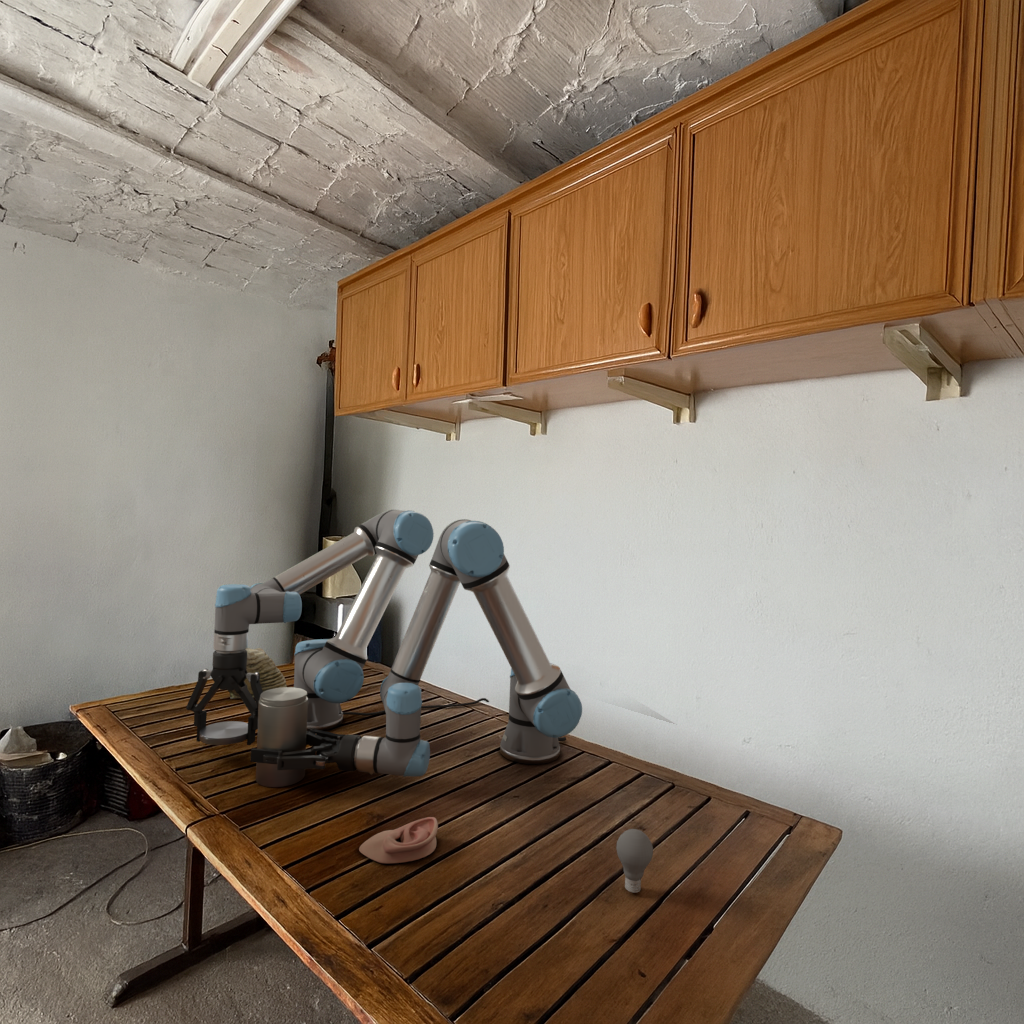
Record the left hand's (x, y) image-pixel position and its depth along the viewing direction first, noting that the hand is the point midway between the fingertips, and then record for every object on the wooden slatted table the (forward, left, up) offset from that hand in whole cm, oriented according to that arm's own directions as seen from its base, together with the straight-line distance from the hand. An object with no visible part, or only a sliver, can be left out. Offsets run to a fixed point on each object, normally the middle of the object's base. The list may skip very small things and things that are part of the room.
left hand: (225, 741), depth 151 cm
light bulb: (-20, +97, -4) cm, 100 cm away
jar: (-4, +18, -4) cm, 19 cm away
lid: (0, 0, +3) cm, 3 cm away
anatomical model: (-2, +59, -4) cm, 59 cm away
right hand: (-1, +15, +3) cm, 15 cm away
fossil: (-29, -39, -4) cm, 49 cm away
